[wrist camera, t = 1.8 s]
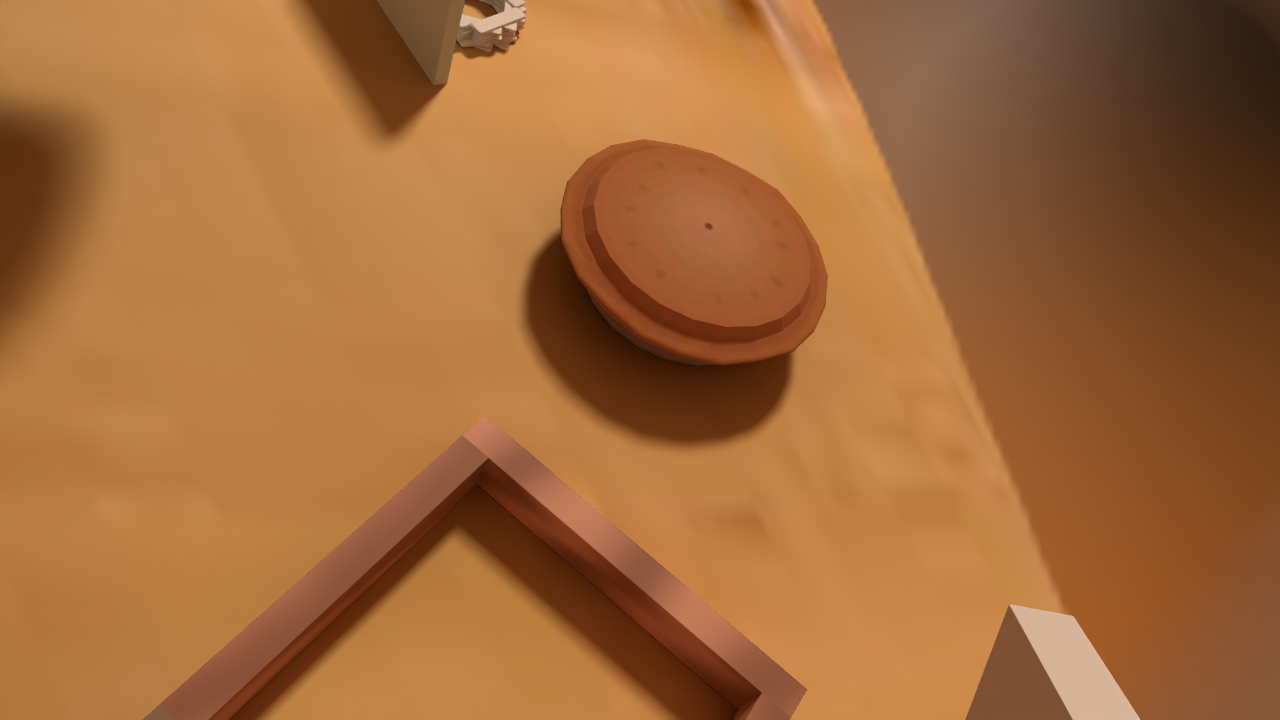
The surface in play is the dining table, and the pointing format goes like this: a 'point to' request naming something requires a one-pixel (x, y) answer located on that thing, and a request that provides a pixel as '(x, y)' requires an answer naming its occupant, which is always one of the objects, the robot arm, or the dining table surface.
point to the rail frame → (554, 516)
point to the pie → (692, 255)
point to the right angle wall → (451, 29)
